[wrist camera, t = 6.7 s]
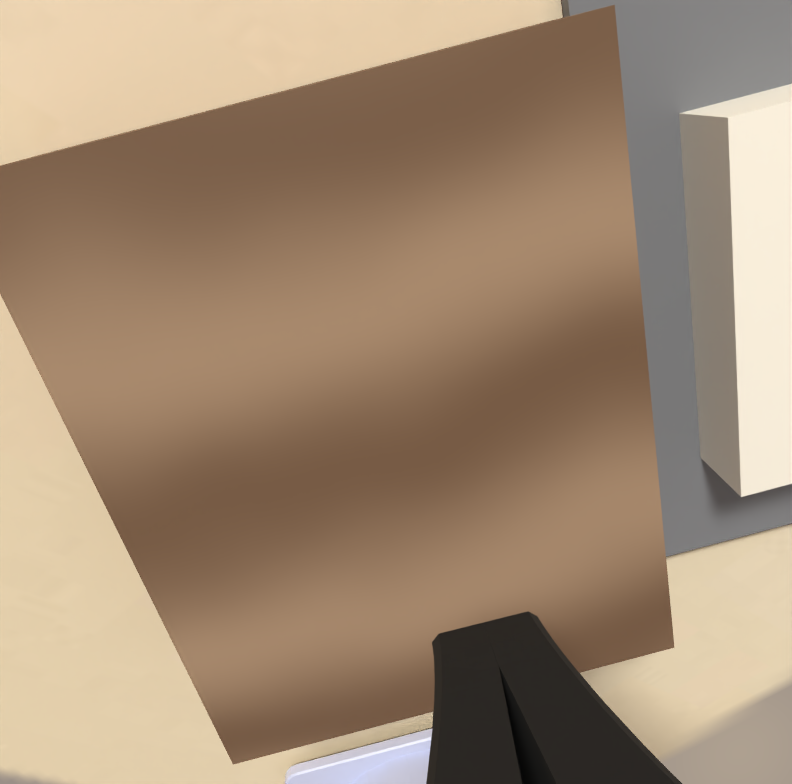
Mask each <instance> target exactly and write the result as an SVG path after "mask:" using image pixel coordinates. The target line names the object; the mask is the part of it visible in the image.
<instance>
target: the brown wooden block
mask: <svg viewBox="0 0 792 784" xmlns="http://www.w3.org/2000/svg"><path fill="white" fill-rule="evenodd" d="M0 294H1V296H2V298H3V300H4V302H5V304H6V306H7V308H8V310H9V312H10V314H11V316H12V318H13V320H14V322H15V324H16V326H17V328H18V330H19V332H20V334H21V337H22V339H23V341H24V343H25V345H26V347H27V349H28V351H29V353H30V355H31V357H32V359H33V361H34V363H35V365H36V367H37V369H38V371H39V373H40V375H41V377H42V379H43V381H44V383H45V385H46V387H47V389H48V391H49V393H50V395H51V397H52V399H53V401H54V403H55V405H56V407H57V409H58V411H59V413H60V415H61V417H62V419H63V421H64V423H65V425H66V427H67V429H68V431H69V434H70V436H71V438H72V440H73V442H74V444H75V446H76V448H77V450H78V452H79V454H80V456H81V458H82V460H83V462H84V464H85V466H86V468H87V470H88V472H89V474H90V476H91V478H92V480H93V482H94V484H95V486H96V488H97V490H98V492H99V494H100V496H101V498H102V500H103V502H104V504H105V506H106V508H107V510H108V512H109V514H110V516H111V518H112V520H113V522H114V524H115V526H116V529H117V531H118V533H119V535H120V537H121V539H122V541H123V543H124V545H125V547H126V549H127V551H128V553H129V555H130V557H131V559H132V561H133V563H134V565H135V567H136V569H137V571H138V573H139V575H140V577H141V579H142V581H143V583H144V585H145V587H146V589H147V591H148V593H149V595H150V597H151V599H152V601H153V603H154V605H155V607H156V609H157V611H158V613H159V615H160V617H161V619H162V621H163V624H164V626H165V628H166V630H167V632H168V634H169V636H170V638H171V640H172V642H173V644H174V646H175V648H176V650H177V652H178V654H179V656H180V658H181V660H182V662H183V664H184V666H185V668H186V670H187V672H188V674H189V676H190V678H191V680H192V682H193V684H194V686H195V688H196V690H197V692H198V694H199V696H200V698H201V700H202V702H203V704H204V706H205V708H206V710H207V712H208V714H209V716H210V718H211V721H212V723H213V725H214V727H215V729H216V731H217V733H218V735H219V737H220V739H221V741H222V743H223V745H224V747H225V749H226V751H227V753H228V755H229V757H230V759H231V761H232V763H233V764H236V763H240V762H244V761H248V760H252V759H255V758H259V757H263V756H267V755H270V754H274V753H278V752H282V751H286V750H289V749H293V748H297V747H301V746H304V745H308V744H312V743H316V742H319V741H323V740H327V739H331V738H335V737H338V736H342V735H346V734H350V733H353V732H357V731H361V730H365V729H368V728H372V727H376V726H380V725H384V724H387V723H391V722H395V721H399V720H402V719H406V718H410V717H414V716H418V715H421V714H425V713H429V712H433V710H434V687H435V675H434V655H433V647H432V641H433V640H434V639H435V638H436V636H437V635H438V634H439V633H443V632H447V631H451V630H455V629H459V628H463V627H467V626H471V625H475V624H479V623H483V622H487V621H491V620H495V619H499V618H503V617H507V616H511V615H515V614H519V613H523V612H527V611H529V612H531V613H532V614H534V615H536V616H538V618H539V620H540V621H541V623H542V624H543V626H544V627H545V629H546V630H547V632H548V633H549V634H550V636H551V637H552V639H553V640H554V641H555V643H556V644H557V645H558V647H559V648H560V649H561V651H562V652H563V653H564V655H565V656H566V657H567V658H568V660H569V661H570V662H571V663H572V665H573V666H574V667H575V668H576V670H577V671H578V672H579V673H580V672H584V671H587V670H591V669H595V668H599V667H602V666H606V665H610V664H614V663H617V662H621V661H625V660H629V659H633V658H636V657H640V656H644V655H648V654H651V653H655V652H659V651H663V650H666V649H670V648H674V639H673V629H672V618H671V607H670V596H669V585H668V575H667V564H666V553H665V542H664V531H663V521H662V510H661V499H660V488H659V478H658V467H657V456H656V445H655V434H654V424H653V413H652V402H651V391H650V380H649V370H648V359H647V348H646V337H645V326H644V316H643V305H642V294H641V283H640V272H639V262H638V251H637V240H636V229H635V218H634V208H633V197H632V186H631V175H630V164H629V154H628V143H627V132H626V121H625V110H624V100H623V89H622V78H621V67H620V57H619V46H618V35H617V24H616V13H615V5H611V6H607V7H603V8H600V9H596V10H592V11H588V12H584V13H580V14H576V15H572V16H568V17H564V18H560V19H556V20H552V21H548V22H544V23H540V24H537V25H533V26H529V27H525V28H521V29H518V30H514V31H510V32H506V33H502V34H499V35H495V36H491V37H487V38H483V39H480V40H476V41H472V42H468V43H464V44H461V45H457V46H453V47H449V48H445V49H442V50H438V51H434V52H430V53H426V54H422V55H419V56H415V57H411V58H407V59H403V60H400V61H396V62H392V63H388V64H384V65H381V66H377V67H373V68H369V69H365V70H362V71H358V72H354V73H350V74H346V75H343V76H339V77H335V78H331V79H327V80H324V81H320V82H316V83H312V84H308V85H305V86H301V87H297V88H293V89H289V90H286V91H282V92H278V93H274V94H270V95H266V96H263V97H259V98H255V99H251V100H247V101H244V102H240V103H236V104H232V105H228V106H225V107H221V108H217V109H213V110H209V111H206V112H202V113H198V114H194V115H190V116H187V117H183V118H179V119H175V120H171V121H168V122H164V123H160V124H156V125H152V126H149V127H145V128H141V129H137V130H133V131H130V132H126V133H122V134H118V135H114V136H110V137H107V138H103V139H99V140H95V141H91V142H88V143H84V144H80V145H76V146H72V147H69V148H65V149H61V150H57V151H53V152H50V153H46V154H42V155H38V156H34V157H31V158H27V159H23V160H20V161H16V162H12V163H9V164H5V165H1V166H0Z"/></svg>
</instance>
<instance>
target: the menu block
mask: <svg viewBox="0 0 792 784" xmlns="http://www.w3.org/2000/svg"><path fill="white" fill-rule="evenodd" d="M679 117H680V133H681V149H682V165H683V182H684V198H685V214H686V230H687V246H688V262H689V278H690V294H691V311H692V327H693V343H694V359H695V375H696V391H697V407H698V423H699V440H700V456H701V459H702V460H703V461H704V462H706V463H707V464H708V465H709V466H710V467H711V468H712V469H713V470H714V471H715V472H716V473H717V474H718V475H719V476H720V477H721V478H722V479H723V480H724V481H725V482H726V483H727V484H728V485H729V486H730V487H731V488H732V489H733V490H734V491H735V492H736V493H737V494H739V495H740V496H741V497H743V496H747V495H751V494H755V493H759V492H762V491H766V490H770V489H774V488H777V487H781V486H785V485H789V484H792V84H789V85H785V86H781V87H778V88H774V89H770V90H766V91H762V92H759V93H755V94H751V95H747V96H743V97H740V98H736V99H732V100H728V101H724V102H721V103H717V104H713V105H709V106H705V107H702V108H698V109H694V110H690V111H686V112H683V113H679Z"/></svg>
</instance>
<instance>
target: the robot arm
mask: <svg viewBox="0 0 792 784" xmlns="http://www.w3.org/2000/svg"><path fill="white" fill-rule="evenodd" d="M432 647H433V655H434V675H435V687H434V710H433V727H432V728H431V729H427V730H424V731H420V732H416V733H412V734H408V735H405V736H401V737H397V738H393V739H390V740H386V741H382V742H378V743H375V744H371V745H367V746H363V747H359V748H356V749H352V750H348V751H344V752H341V753H337V754H333V755H329V756H326V757H322V758H318V759H314V760H310V761H307V762H303V763H299V764H296V765H294V766H291V767H290V768H289V769H288V770H287V772H286V774H285V784H682V783H681V782H680V781H679V780H678V779H677V778H676V777H675V776H674V775H673V774H672V773H670V771H669V770H668V769H667V768H666V767H665V766H664V765H663V764H662V763H661V762H660V761H659V760H658V759H657V758H656V757H655V756H654V755H653V754H652V753H651V752H650V751H649V750H648V749H647V748H646V747H645V746H644V745H643V744H642V743H641V741H640V740H639V739H638V738H637V737H636V736H635V735H634V734H633V733H632V732H631V731H630V730H629V729H628V727H627V726H626V725H625V724H624V723H623V722H622V721H621V720H620V719H619V718H618V717H617V716H616V715H615V713H614V712H613V711H612V710H611V709H610V708H609V707H608V706H607V705H606V704H605V702H604V701H603V700H602V699H601V698H600V697H599V696H598V694H597V693H596V692H595V691H594V690H593V689H592V688H591V686H590V685H589V684H588V683H587V682H586V680H585V679H584V678H583V677H582V676H581V674H580V673H579V672H578V671H577V670H576V668H575V667H574V666H573V665H572V663H571V662H570V661H569V660H568V658H567V657H566V656H565V655H564V653H563V652H562V651H561V649H560V648H559V647H558V645H557V644H556V643H555V641H554V640H553V639H552V637H551V636H550V634H549V633H548V632H547V630H546V629H545V627H544V626H543V624H542V623H541V621H540V620H539V618H538V616H536V615H534V614H532V613H531V612H529V611H527V612H523V613H519V614H515V615H511V616H507V617H503V618H499V619H495V620H491V621H487V622H483V623H479V624H475V625H471V626H467V627H463V628H459V629H455V630H451V631H447V632H443V633H439V634H438V635H437V636H436V638H435V639H434V640H433V641H432Z"/></svg>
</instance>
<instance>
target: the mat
mask: <svg viewBox="0 0 792 784" xmlns="http://www.w3.org/2000/svg"><path fill="white" fill-rule="evenodd" d="M561 1H562V9H563V17H568V16H572V15H576V14H580V13H584V12H588V11H592V10H596V9H600V8H603V7H607V6H611V5H615V13H616V24H617V35H618V46H619V57H620V67H621V78H622V89H623V100H624V110H625V121H626V132H627V143H628V154H629V164H630V175H631V186H632V197H633V208H634V218H635V229H636V240H637V251H638V262H639V272H640V283H641V294H642V305H643V316H644V326H645V337H646V348H647V359H648V370H649V380H650V391H651V402H652V413H653V424H654V434H655V445H656V456H657V467H658V478H659V488H660V499H661V510H662V521H663V531H664V542H665V553H666V557H667V556H671V555H674V554H678V553H682V552H686V551H690V550H693V549H697V548H701V547H705V546H708V545H712V544H716V543H720V542H724V541H727V540H731V539H735V538H739V537H742V536H746V535H750V534H754V533H758V532H761V531H765V530H769V529H773V528H776V527H780V526H784V525H788V524H792V484H789V485H785V486H781V487H777V488H774V489H770V490H766V491H762V492H759V493H755V494H751V495H747V496H743V497H741V496H740V495H739V494H737V493H736V492H735V491H734V490H733V489H732V488H731V487H730V486H729V485H728V484H727V483H726V482H725V481H724V480H723V479H722V478H721V477H720V476H719V475H718V474H717V473H716V472H715V471H714V470H713V469H712V468H711V467H710V466H709V465H708V464H707V463H706V462H704V461H703V460H702V459H701V456H700V440H699V423H698V407H697V391H696V375H695V359H694V343H693V327H692V311H691V294H690V278H689V262H688V246H687V230H686V214H685V198H684V182H683V165H682V149H681V133H680V117H679V113H683V112H686V111H690V110H694V109H698V108H702V107H705V106H709V105H713V104H717V103H721V102H724V101H728V100H732V99H736V98H740V97H743V96H747V95H751V94H755V93H759V92H762V91H766V90H770V89H774V88H778V87H781V86H785V85H789V84H792V0H561Z"/></svg>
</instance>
